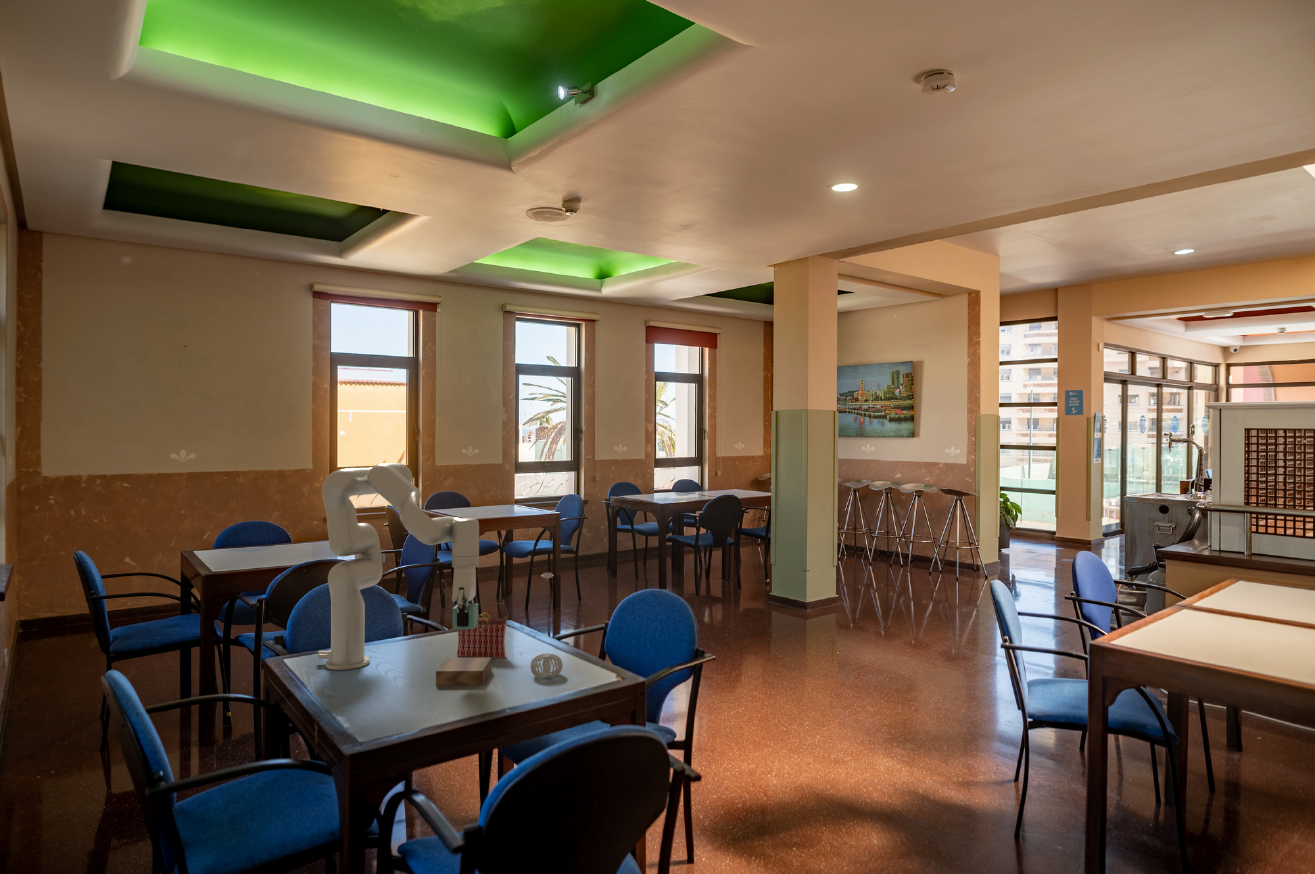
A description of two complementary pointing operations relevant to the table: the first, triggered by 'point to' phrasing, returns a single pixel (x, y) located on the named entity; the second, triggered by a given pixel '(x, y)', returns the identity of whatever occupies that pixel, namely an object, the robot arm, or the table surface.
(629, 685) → the table surface
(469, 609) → the teal block
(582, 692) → the table surface
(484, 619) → the handbag
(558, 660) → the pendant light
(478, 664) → the walnut plinth
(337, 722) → the table surface
